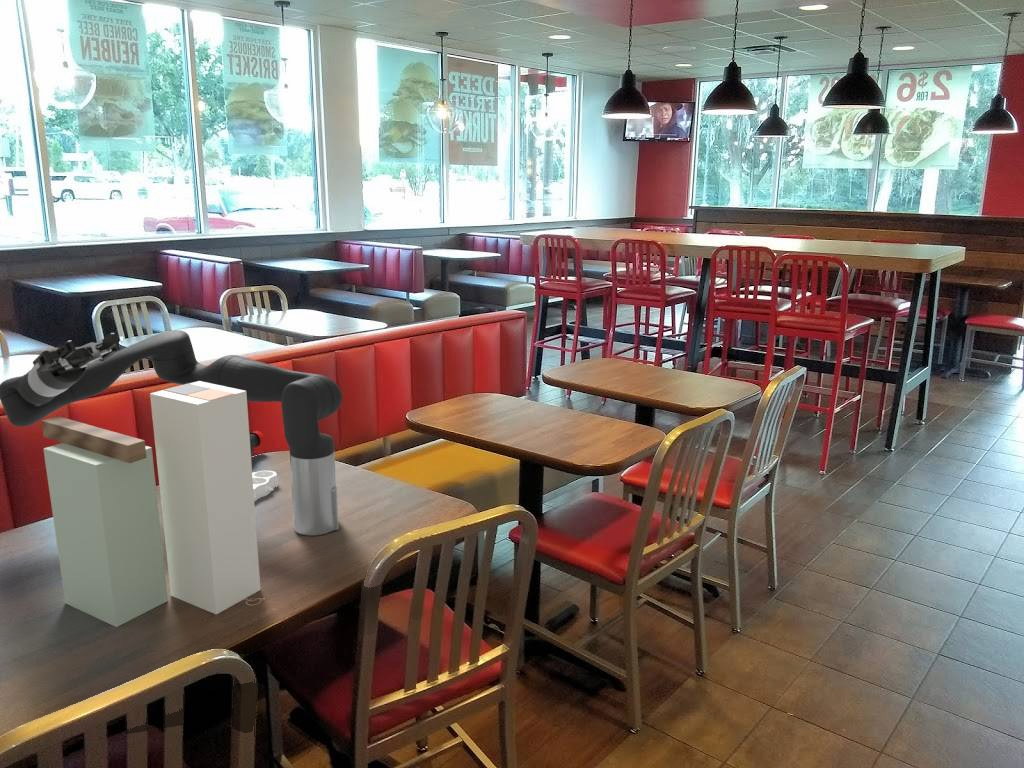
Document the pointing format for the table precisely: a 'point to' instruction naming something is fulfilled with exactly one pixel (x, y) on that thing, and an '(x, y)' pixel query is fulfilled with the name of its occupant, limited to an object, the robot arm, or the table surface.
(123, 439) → the bar
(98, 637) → the table surface
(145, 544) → the step
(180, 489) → the stand
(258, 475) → the white brass knuckles
